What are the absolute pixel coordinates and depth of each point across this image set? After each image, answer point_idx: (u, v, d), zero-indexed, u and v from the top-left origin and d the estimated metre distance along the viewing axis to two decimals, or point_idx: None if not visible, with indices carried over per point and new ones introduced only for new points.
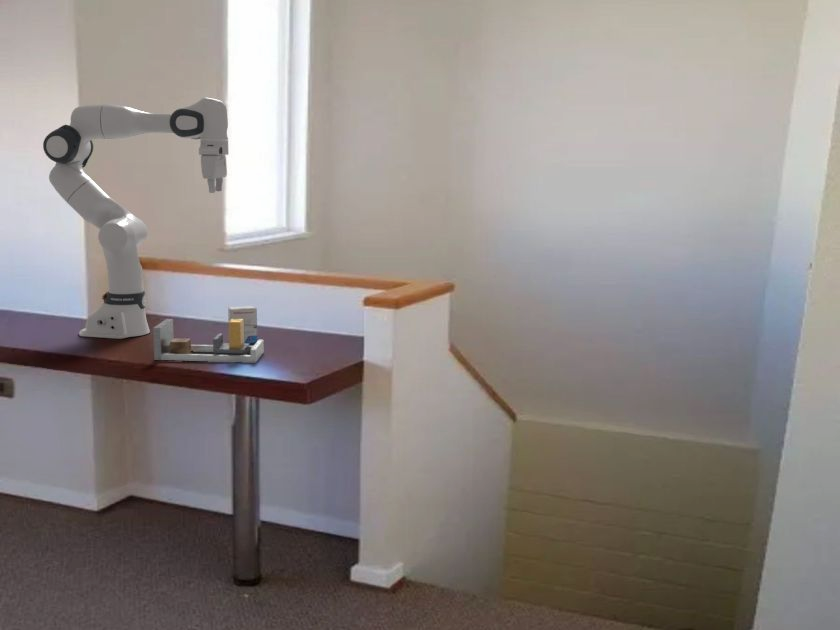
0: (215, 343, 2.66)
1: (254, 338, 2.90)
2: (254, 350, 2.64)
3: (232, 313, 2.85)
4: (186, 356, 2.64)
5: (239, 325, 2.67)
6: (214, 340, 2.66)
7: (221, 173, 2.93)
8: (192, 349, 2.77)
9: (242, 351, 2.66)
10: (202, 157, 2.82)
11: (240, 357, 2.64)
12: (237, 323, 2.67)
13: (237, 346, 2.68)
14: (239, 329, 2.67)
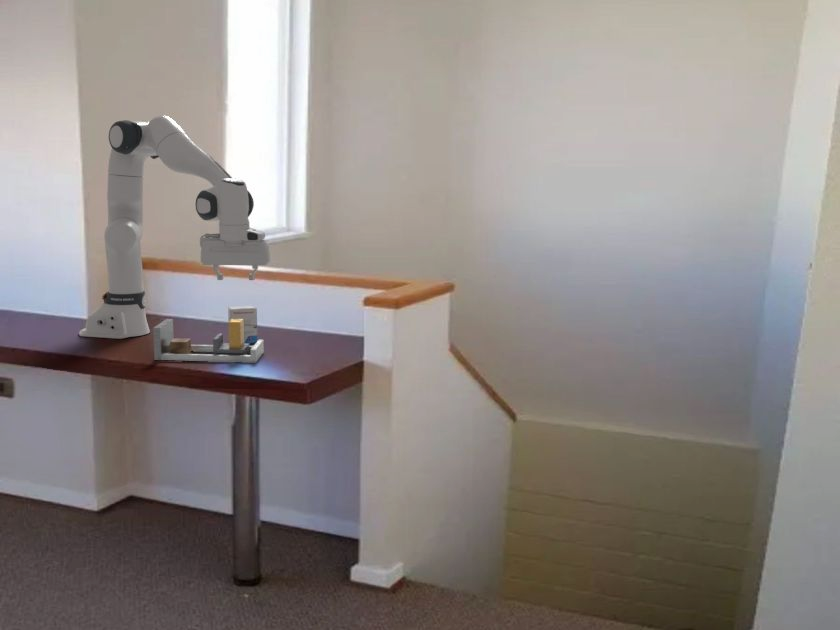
0: (215, 343, 2.66)
1: (254, 338, 2.90)
2: (254, 350, 2.64)
3: (232, 313, 2.85)
4: (186, 356, 2.64)
5: (239, 325, 2.67)
6: (214, 340, 2.66)
7: None
8: (192, 349, 2.77)
9: (242, 351, 2.66)
10: (264, 243, 2.63)
11: (240, 357, 2.64)
12: (237, 323, 2.67)
13: (237, 346, 2.68)
14: (239, 329, 2.67)
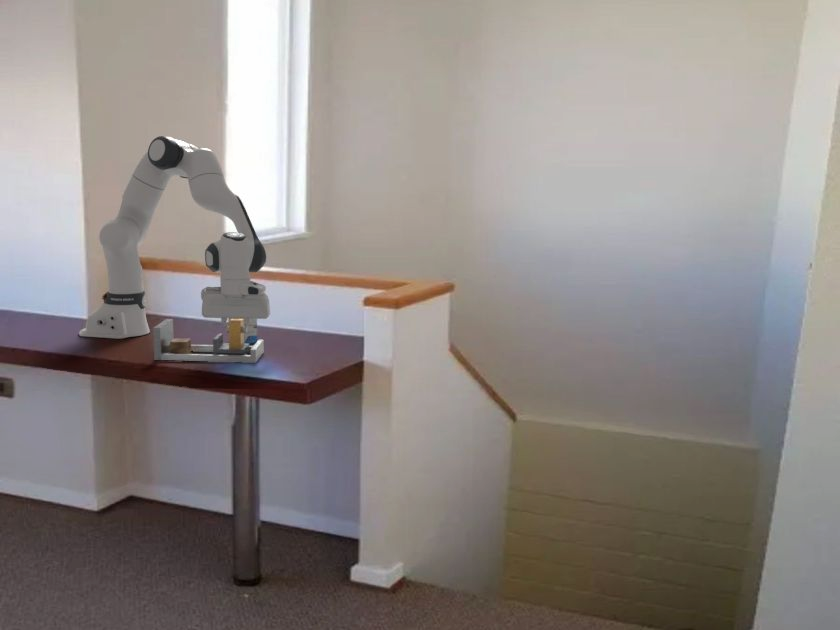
0: (215, 343, 2.66)
1: (254, 338, 2.90)
2: (254, 350, 2.64)
3: None
4: (186, 356, 2.64)
5: (239, 325, 2.67)
6: (214, 340, 2.66)
7: None
8: (192, 349, 2.77)
9: (242, 351, 2.66)
10: (264, 297, 2.66)
11: (240, 357, 2.64)
12: (237, 323, 2.67)
13: (237, 346, 2.68)
14: (239, 329, 2.67)
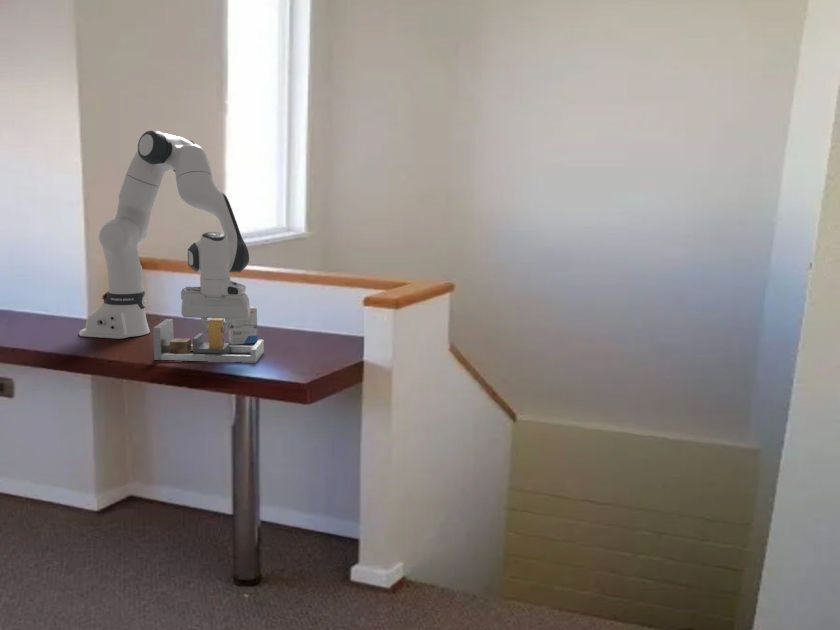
0: (195, 343, 2.66)
1: (254, 338, 2.90)
2: (254, 350, 2.64)
3: None
4: (186, 356, 2.64)
5: (219, 325, 2.67)
6: (194, 340, 2.66)
7: None
8: (192, 349, 2.77)
9: (222, 351, 2.66)
10: (244, 297, 2.66)
11: (240, 357, 2.64)
12: (217, 323, 2.67)
13: (217, 346, 2.68)
14: (219, 329, 2.67)
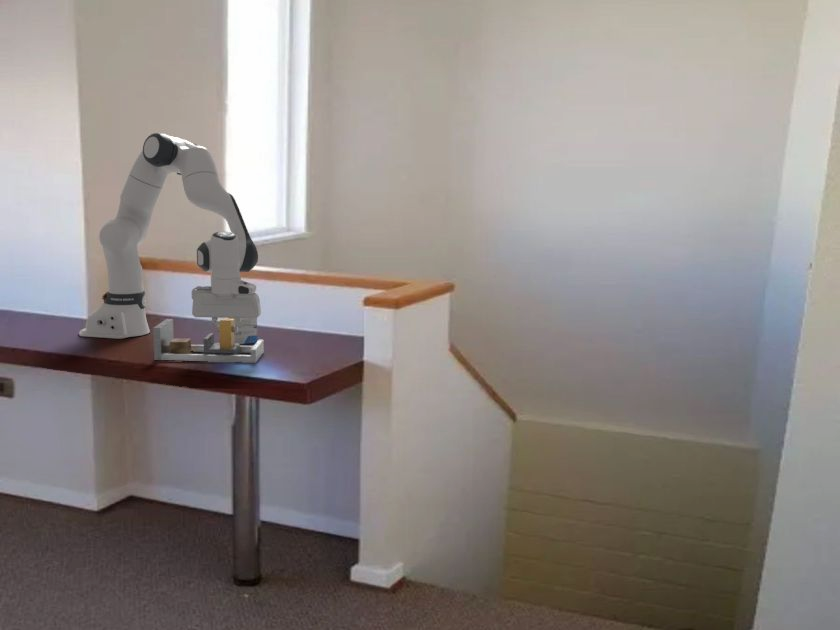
0: (205, 343, 2.66)
1: (254, 338, 2.90)
2: (254, 350, 2.64)
3: None
4: (186, 356, 2.64)
5: (230, 325, 2.67)
6: (204, 340, 2.66)
7: None
8: (192, 349, 2.77)
9: (232, 351, 2.66)
10: (254, 296, 2.66)
11: (240, 357, 2.64)
12: (228, 323, 2.67)
13: (228, 346, 2.68)
14: (230, 329, 2.67)
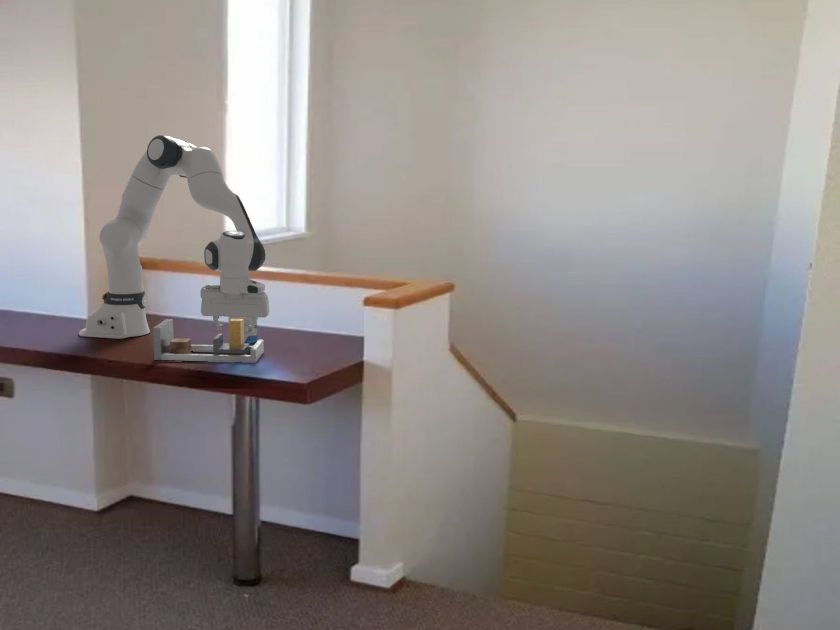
0: (215, 343, 2.66)
1: (254, 338, 2.90)
2: (254, 350, 2.64)
3: None
4: (186, 356, 2.64)
5: (239, 325, 2.67)
6: (214, 340, 2.66)
7: None
8: (192, 349, 2.77)
9: (242, 351, 2.66)
10: (263, 296, 2.66)
11: (240, 357, 2.64)
12: (237, 323, 2.67)
13: (237, 346, 2.68)
14: (239, 329, 2.67)
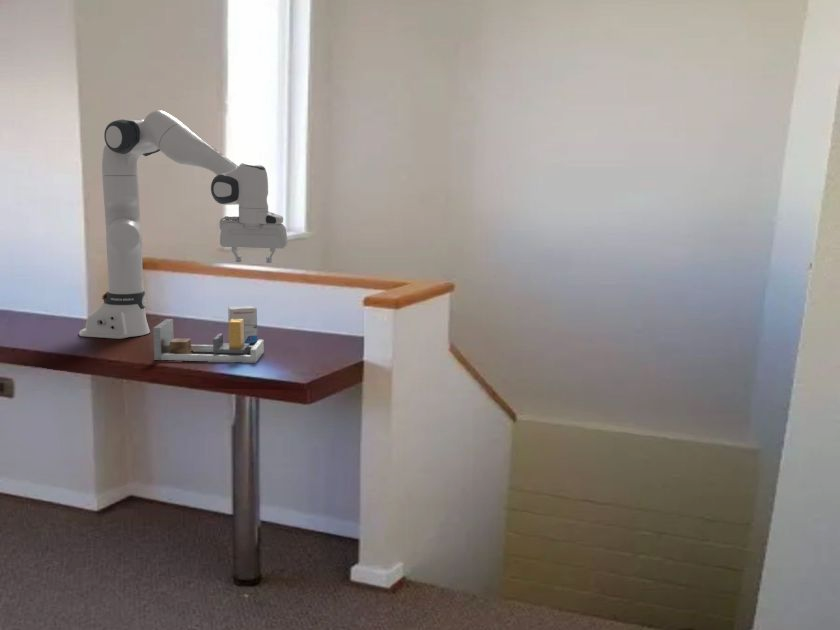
0: (215, 343, 2.66)
1: (254, 338, 2.90)
2: (254, 350, 2.64)
3: (232, 313, 2.85)
4: (186, 356, 2.64)
5: (239, 325, 2.67)
6: (214, 340, 2.66)
7: None
8: (192, 349, 2.77)
9: (242, 351, 2.66)
10: (281, 227, 2.70)
11: (240, 357, 2.64)
12: (237, 323, 2.67)
13: (237, 346, 2.68)
14: (239, 329, 2.67)
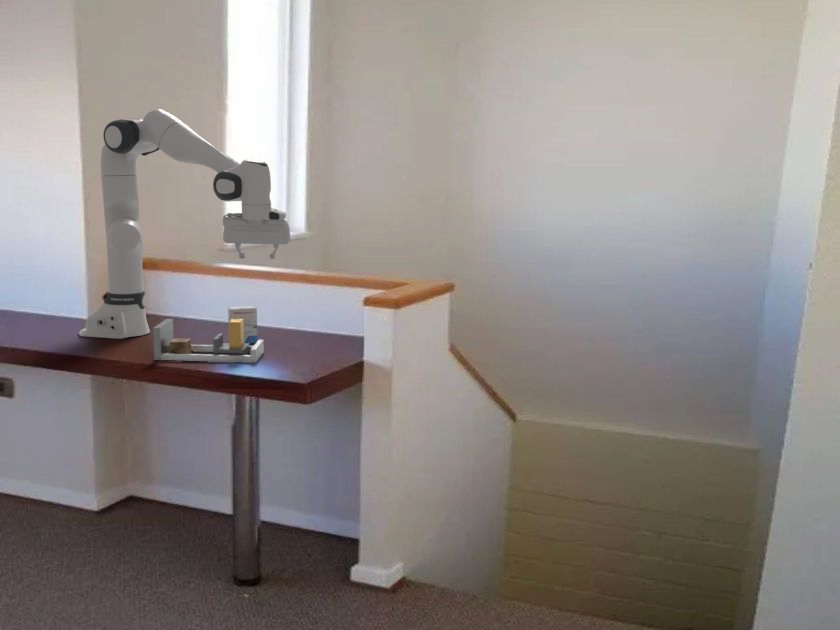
0: (215, 343, 2.66)
1: (254, 338, 2.90)
2: (254, 350, 2.64)
3: (232, 313, 2.85)
4: (186, 356, 2.64)
5: (239, 325, 2.67)
6: (214, 340, 2.66)
7: None
8: (192, 349, 2.77)
9: (242, 351, 2.66)
10: (285, 223, 2.71)
11: (240, 357, 2.64)
12: (237, 323, 2.67)
13: (237, 346, 2.68)
14: (239, 329, 2.67)
